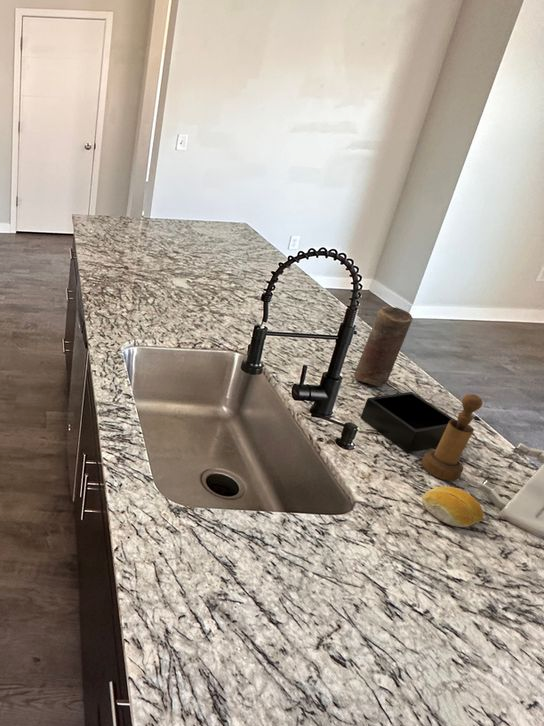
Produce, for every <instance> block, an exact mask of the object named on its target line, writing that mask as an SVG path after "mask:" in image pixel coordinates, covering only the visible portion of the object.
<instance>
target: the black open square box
mask: <svg viewBox="0 0 544 726" xmlns="http://www.w3.org/2000/svg"><path fill="white" fill-rule="evenodd" d="M360 419H361V420H362V421H363V422H365V423H366V424H367V425H369V426H370V427H371V428H373V429H374V430H375V431H377V432H378V433H379V434H380V435H382V436H383V437H385V438H386V439H387V440H388V441H390V442H392V443H393V444H394V445H395V446H396V447H398V448H399V449H401V450H402V451H403V452H404V453H406V454H409V453H411V454H412V453H415V452H421V451H429V450H432V449H433V450H434V449H436V448H437V446H438V444H439V442H440V440H441V438H442V436H443V434H444V432H445V429H446V427H447V425H448V423H449V421H450V420H456V418H453V417H452V416H451V415H449V414H448V413H446V412H444V411H443V410H441V409H439V408H438V407H436V406H435V405H433V404H432V403H430V402H429V401H427V400H426V399H424V398H422V397H421V396H419V395H417V394H416V393H414V392H413V391H407V392H400V393H393V394H386V395H379V396H372V397H367V398H366V402H365V404H364V407H363V410H362V412H361V415H360Z"/></svg>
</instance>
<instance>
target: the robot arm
mask: <svg viewBox="0 0 544 726" xmlns="http://www.w3.org/2000/svg"><path fill="white" fill-rule="evenodd" d="M512 451H513V453H515V454H517V455H518V456H520V457H522V458H524V457H525V456H528V457H532V458H536V461H537V462H539V463H540V464H541V466H540V467H539V468H538V469H537V470H536V471H535V472H534V473H533V475H531V477H530V478H529V479H528V480H527V481H526V482H525V484H523V486H522V487H521V488H520V489H519V490H518V491H517V493H516V494H515V495H514V496H513V497H512V498H511V499H508V498H507V497H506V496H502V497H501V496H500V494H499V493H498V492H497V491H496V490H495V488H496V485H495V484H493V483H491V482H490V481H488V480H483V482H482V483H481V484H480V485H479V486H478V490H479V491H481V492H483V494H486V495H487V497H488V498H489V499H490V501H491V502H492V504H493V505H494V506H495V507H497V508H498V509H500V511H499V513H498V515H499V516H500V517H501V519H503V520H505V521H507V522H509V523H510V524H512V525H514V526H516V527H518V528H520V529H523V530H524V531H526V532H528V533H531V534H532V535H535V536H537V537H540V538H542V539H544V449H539V448H535V447H534V448H533V447H530V446H527V445H526V444H524V443H521V442H519V443H518V444H517V445H516V446H515V448H513V450H512Z"/></svg>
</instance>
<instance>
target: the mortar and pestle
mask: <svg viewBox="0 0 544 726" xmlns="http://www.w3.org/2000/svg"><path fill="white" fill-rule="evenodd" d="M461 405H462V411H461V412H459V413H458V415H457V419H455V420H450V421H449V423H448V425H447V427H446V429H445V432H444V434H443V436H442V438H441V440H440V442H439V444H438V446H437V448H435V449H433V450H427V451H426V452H425V453H424V455H423V458H422V460H421V461H420V462H421V466H422V467H423V469H424V470H425V471H426V472H427V473H428V474H430V475H432V476H433V477H436V478H437V479H440V480H443V481H448V482H456V481H458V480H459V479H460V478H461V475H462V473H463V471H464V465H463V463H461V461H460V459H461V457H462V455H463V452H464V450H465V448H466V446H467V445H468V443H469V441H470V438H471V437H472V435H473V433H474V431H475V430H474V428H473V427H472V425H470V423H471V422H472V421H473V419H474V417H473V416H472V414H473V413H474V412H476V411H478V410H480V408H482V407H483V400H482V398H481V397H480V396H479V395H476V394H473V393H469V394H466V395H464V396H463V397H462V399H461Z"/></svg>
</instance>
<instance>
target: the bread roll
mask: <svg viewBox="0 0 544 726" xmlns="http://www.w3.org/2000/svg"><path fill="white" fill-rule="evenodd" d="M421 501H422V505H423V506H424V508H425V509H426V511H427V512H428V513H429V514H431V515H432V516H433V517H435V519H437V520H439V521H441V522H442V523H445V524H446V525H449V526H452V527H457V528H467V527H471V526H473V525H474V524H477V523H480V522H481V521H482V520H483V519H484V512H483V508H482V506H481V504H480V503H479V502H478V500H477V499H476V498H475V497H473V496H472V495H471V494H470V493H468V492H467V491H464V490H462V489H461V488H457V487H451V486H437V487H435V488H432V489H429V490H428V491H426V492H425V493H424V494H423V495H422V499H421Z"/></svg>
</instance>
